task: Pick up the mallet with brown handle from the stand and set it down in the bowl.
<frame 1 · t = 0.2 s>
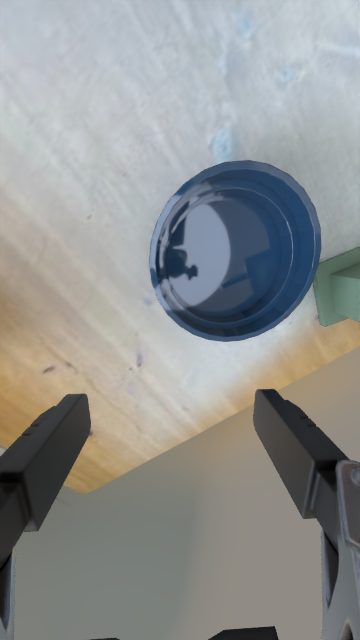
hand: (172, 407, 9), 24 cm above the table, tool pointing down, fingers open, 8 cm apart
bowl: (222, 262, 30), on the table
stand: (347, 284, 32), on the table
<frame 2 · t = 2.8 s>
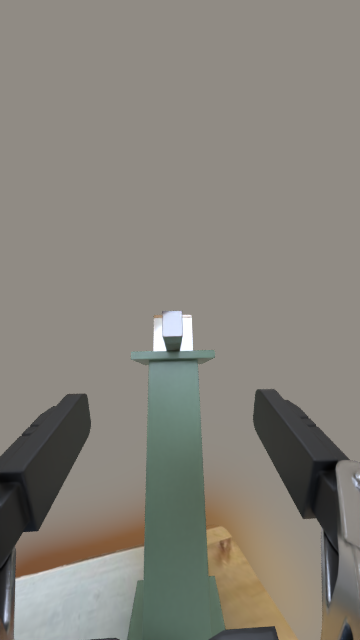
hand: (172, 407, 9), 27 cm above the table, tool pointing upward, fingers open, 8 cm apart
mallet with brown handle: (173, 354, 29), point 32 cm above the table, touching stand
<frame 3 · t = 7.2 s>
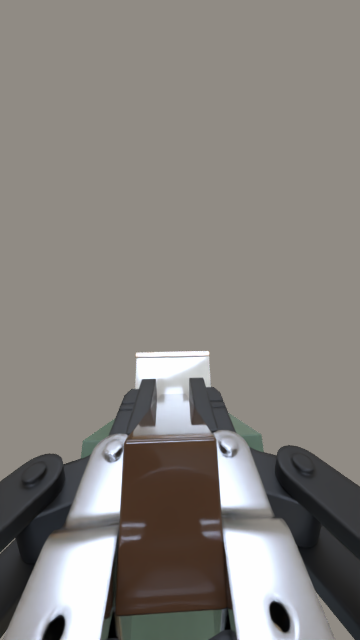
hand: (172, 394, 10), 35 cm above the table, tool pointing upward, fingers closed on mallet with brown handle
mallet with brown handle: (173, 421, 16), point 32 cm above the table, touching gripper, stand
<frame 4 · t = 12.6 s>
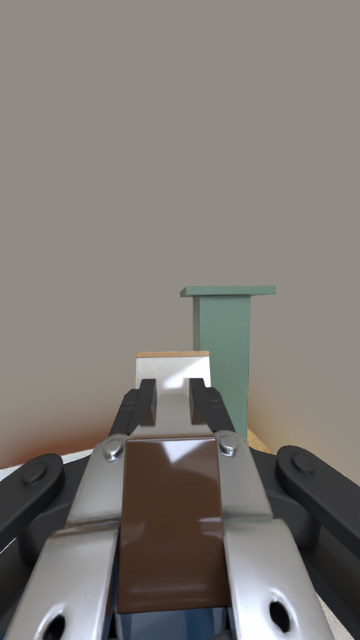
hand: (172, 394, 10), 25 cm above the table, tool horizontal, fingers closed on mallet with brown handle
stand: (217, 480, 32), on the table
mallet with brown handle: (174, 421, 16), point 20 cm above the table, tilted 23°, touching gripper
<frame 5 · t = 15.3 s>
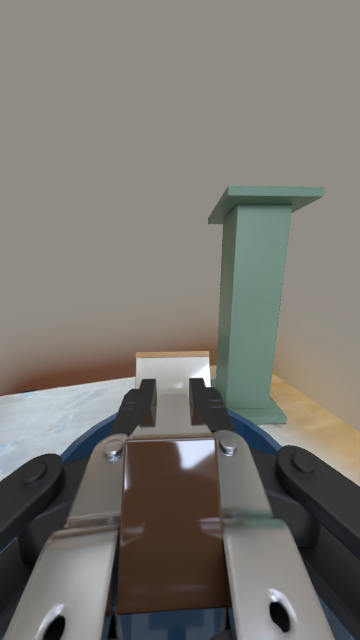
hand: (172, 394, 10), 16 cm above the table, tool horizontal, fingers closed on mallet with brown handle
bowl: (174, 548, 16), on the table
stand: (238, 401, 34), on the table
mallet with brown handle: (174, 421, 16), point 11 cm above the table, tilted 30°, touching gripper
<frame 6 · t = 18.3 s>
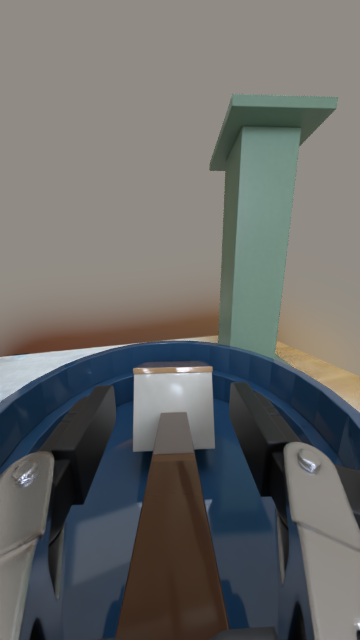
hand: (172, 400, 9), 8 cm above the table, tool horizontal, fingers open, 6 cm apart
bowl: (174, 473, 14), on the table
stand: (242, 360, 32), on the table
mallet with brown handle: (174, 431, 15), point 2 cm above the table, tilted 22°, touching bowl
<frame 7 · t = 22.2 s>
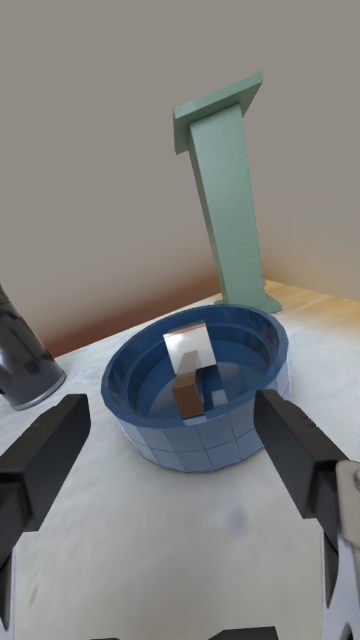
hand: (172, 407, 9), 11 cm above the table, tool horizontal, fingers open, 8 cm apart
bowl: (200, 381, 26), on the table
stand: (244, 308, 41), on the table
mallet with brown handle: (196, 362, 27), point 2 cm above the table, tilted 22°, touching bowl
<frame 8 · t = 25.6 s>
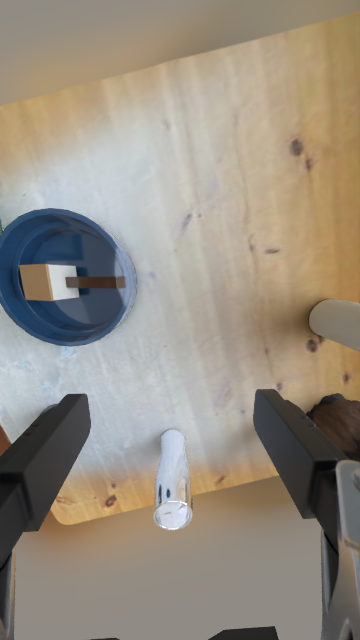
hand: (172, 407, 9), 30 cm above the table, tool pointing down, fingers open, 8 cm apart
bowl: (81, 281, 36), on the table
beer glass: (173, 438, 46), on the table
travel mug: (325, 317, 40), on the table
owl: (326, 418, 46), on the table
mallet with brown handle: (65, 281, 35), point 2 cm above the table, tilted 22°, touching bowl
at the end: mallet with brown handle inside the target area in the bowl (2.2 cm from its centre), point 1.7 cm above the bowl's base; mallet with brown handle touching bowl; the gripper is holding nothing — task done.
